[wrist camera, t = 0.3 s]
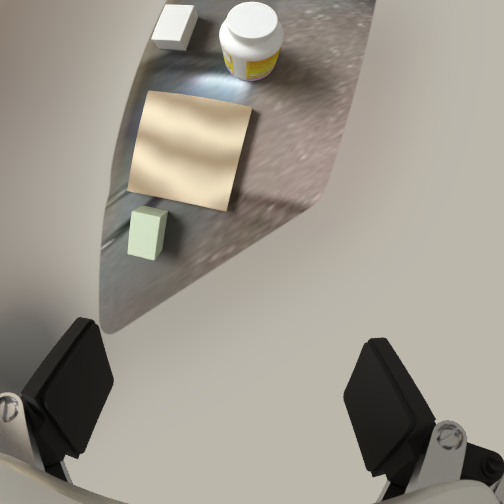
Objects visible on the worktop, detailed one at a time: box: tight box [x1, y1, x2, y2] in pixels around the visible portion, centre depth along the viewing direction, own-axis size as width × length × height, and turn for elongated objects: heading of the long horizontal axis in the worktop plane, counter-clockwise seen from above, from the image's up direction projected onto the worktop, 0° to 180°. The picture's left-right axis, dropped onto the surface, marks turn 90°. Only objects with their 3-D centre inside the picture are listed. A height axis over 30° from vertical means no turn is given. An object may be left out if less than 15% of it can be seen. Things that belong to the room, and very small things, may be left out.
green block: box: [128, 206, 168, 260], centre depth 36 cm, size 6×4×4 cm, turn 166°
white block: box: [151, 5, 198, 51], centre depth 26 cm, size 6×4×4 cm, turn 166°
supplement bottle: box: [219, 2, 284, 81], centre depth 24 cm, size 7×7×13 cm
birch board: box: [127, 91, 252, 211], centre depth 33 cm, size 14×14×2 cm
